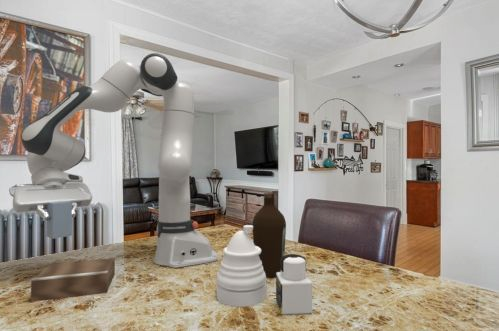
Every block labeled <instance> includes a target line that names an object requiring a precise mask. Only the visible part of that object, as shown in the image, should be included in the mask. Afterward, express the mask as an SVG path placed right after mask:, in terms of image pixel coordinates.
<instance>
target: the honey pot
mask: <svg viewBox="0 0 499 331" xmlns="http://www.w3.org/2000/svg"><path fill="white" fill-rule="evenodd" d="M242 228H243V230H238V231H237V232H236V233H235V232H234V234H233V235H232V237H231V239H230V240H229V243H228V245H227V246H226V247H224V248H223V251H222V253H223V257H222V259H221V261H220V265H219V268H218V272H217V273H216V299H217V301H218V302H220V303H222V304H224V305H226V306H229V307H237V308H240V307H241V308H245V307H251V306H255V305H256V306H257V305H258V304H260V303H262V302H263V301H264V300H265V299H266V298H267V282H266V281H267V277H266V274H265V272H264V269H263V266H262V261H261V260H260V258H259V254H260V253H261V248H259V247H257V246H255V245H254V243H253V238H252V237H251V236H250V235H249V234H251V233H253V226H252V224H250V225H249V224H246V225H243V227H242Z"/></svg>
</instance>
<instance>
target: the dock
mask: <svg viewBox="0 0 499 331" xmlns="http://www.w3.org/2000/svg"><path fill="white" fill-rule="evenodd" d="M115 259H116V257H111V258H99V259H87V260H76V261H63V262H53V263H50V264H49V265H48V266H47V267H45V268H44V269H43V270H42V271H40V273H39V274H37V275H36V276H35V277H33V278H31V279H30V302H38V301H39V302H40V301H47V300H54V299H56V300H57V299H63V298H64V299H65V298H73V297H81V296H90V295H99V294H100V295H101V294H107V293H108V291H109V289H110V286H111V285H112V284H111V283H112V282H113V279H114V276H115V272H116V270H115V267H116V266H115V264H116V263H115V262H116V261H115Z"/></svg>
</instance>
